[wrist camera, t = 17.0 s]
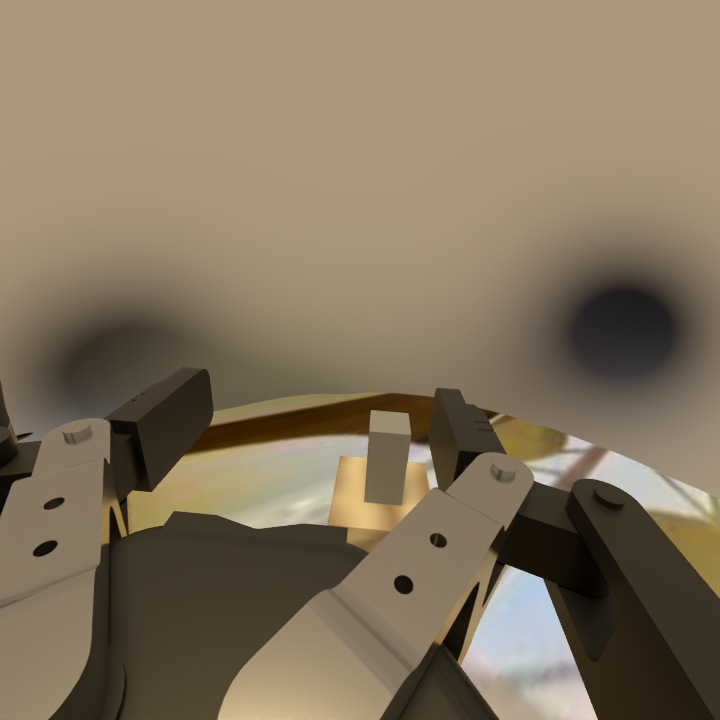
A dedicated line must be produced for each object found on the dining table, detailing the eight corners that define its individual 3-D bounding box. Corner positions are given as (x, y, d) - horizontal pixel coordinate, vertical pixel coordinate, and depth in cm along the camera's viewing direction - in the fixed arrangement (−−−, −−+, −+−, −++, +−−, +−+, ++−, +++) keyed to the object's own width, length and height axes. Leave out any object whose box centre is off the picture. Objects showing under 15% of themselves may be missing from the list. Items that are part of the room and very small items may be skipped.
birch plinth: (326, 557, 39) (327, 524, 37) (339, 483, 50) (340, 456, 49) (431, 567, 39) (437, 535, 37) (420, 491, 50) (424, 463, 48)
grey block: (363, 502, 41) (369, 431, 37) (365, 476, 45) (371, 410, 41) (401, 505, 41) (411, 434, 37) (400, 479, 45) (408, 413, 41)
